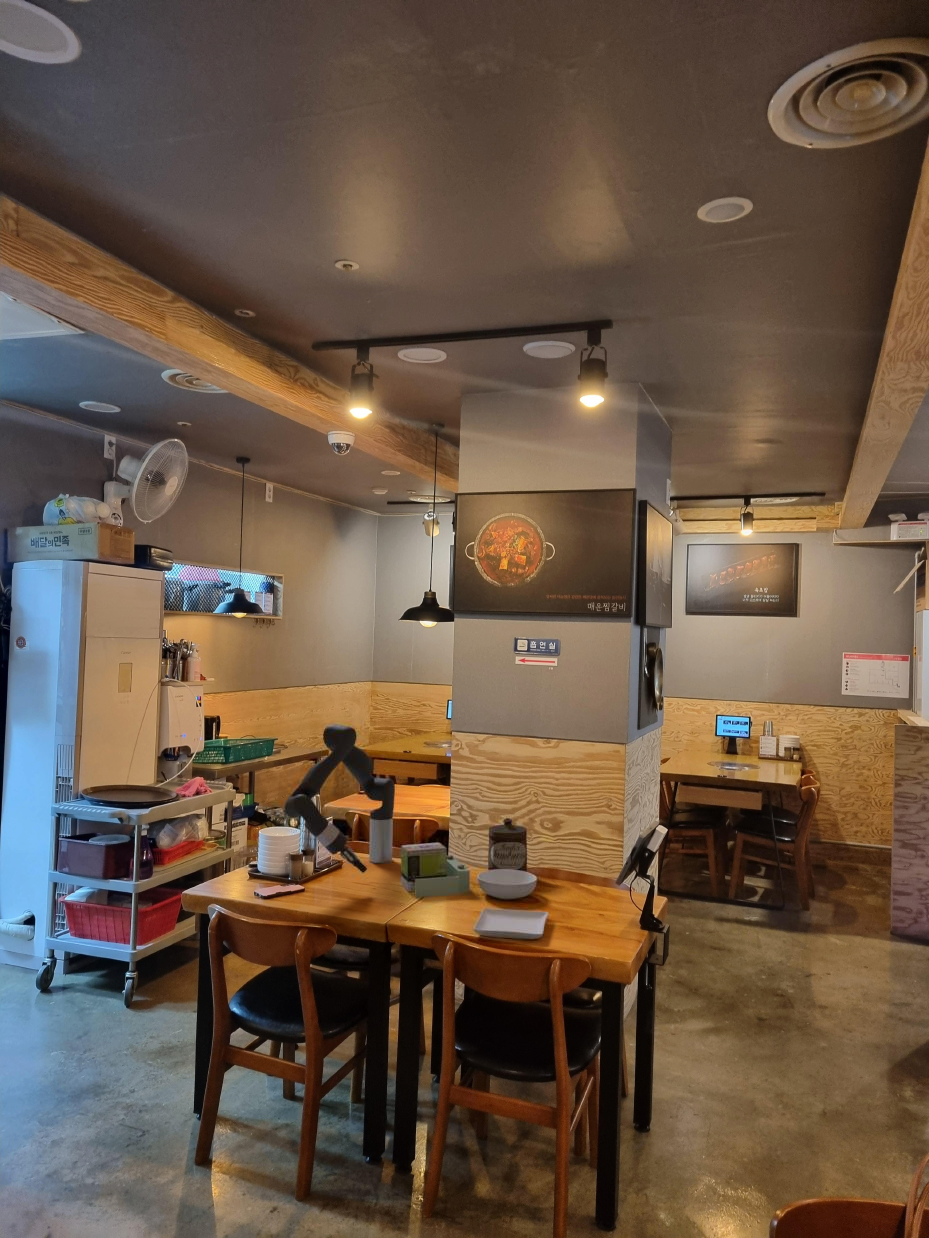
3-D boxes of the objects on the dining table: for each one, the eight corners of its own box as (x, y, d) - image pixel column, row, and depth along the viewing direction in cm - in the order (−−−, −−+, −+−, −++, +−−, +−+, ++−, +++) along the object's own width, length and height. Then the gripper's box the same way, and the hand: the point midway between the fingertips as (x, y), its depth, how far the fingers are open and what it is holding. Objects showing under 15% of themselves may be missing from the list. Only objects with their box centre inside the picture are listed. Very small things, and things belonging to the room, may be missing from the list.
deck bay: (401, 880, 316) (401, 856, 316) (451, 877, 322) (452, 853, 322) (415, 897, 295) (416, 871, 295) (469, 893, 301) (469, 867, 301)
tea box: (439, 881, 316) (440, 841, 316) (447, 889, 306) (447, 847, 306) (400, 884, 311) (400, 843, 311) (406, 892, 301) (407, 850, 302)
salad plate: (472, 939, 254) (472, 928, 254) (483, 917, 275) (483, 906, 275) (542, 945, 251) (542, 933, 251) (548, 922, 271) (548, 911, 272)
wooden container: (490, 881, 316) (490, 822, 317) (486, 871, 331) (486, 814, 332) (529, 881, 317) (530, 822, 318) (523, 870, 332) (524, 814, 333)
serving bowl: (533, 906, 286) (533, 886, 287) (472, 902, 290) (472, 882, 291) (539, 889, 307) (540, 870, 307) (482, 885, 311) (483, 866, 311)
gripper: (341, 833, 292) (376, 867, 296) (335, 825, 305) (368, 857, 308) (325, 850, 290) (360, 883, 294) (320, 841, 303) (354, 873, 306)
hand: (364, 870), depth 301 cm, fingers closed
